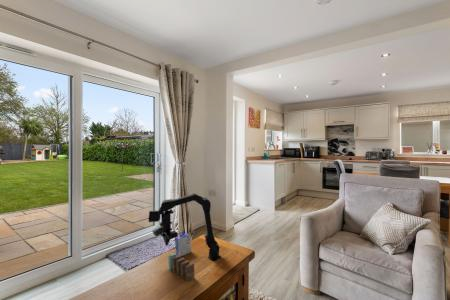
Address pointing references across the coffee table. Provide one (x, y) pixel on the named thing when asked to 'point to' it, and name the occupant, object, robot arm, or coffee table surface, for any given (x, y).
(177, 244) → the ink cartridge box
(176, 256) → the domino
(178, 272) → the domino
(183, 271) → the domino
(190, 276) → the domino
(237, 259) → the coffee table surface
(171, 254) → the domino
